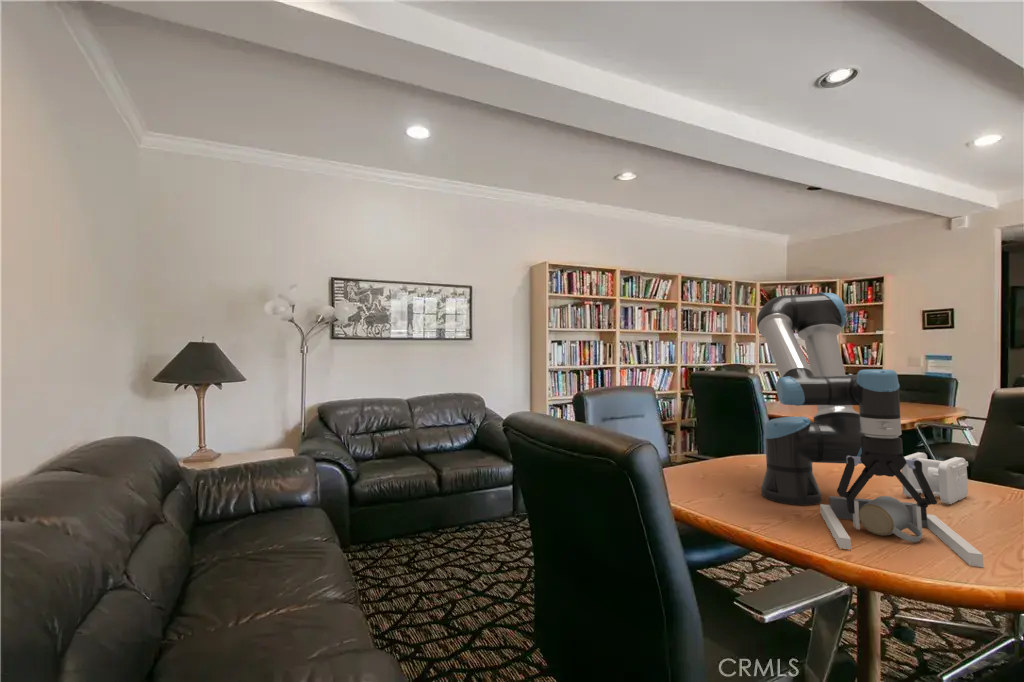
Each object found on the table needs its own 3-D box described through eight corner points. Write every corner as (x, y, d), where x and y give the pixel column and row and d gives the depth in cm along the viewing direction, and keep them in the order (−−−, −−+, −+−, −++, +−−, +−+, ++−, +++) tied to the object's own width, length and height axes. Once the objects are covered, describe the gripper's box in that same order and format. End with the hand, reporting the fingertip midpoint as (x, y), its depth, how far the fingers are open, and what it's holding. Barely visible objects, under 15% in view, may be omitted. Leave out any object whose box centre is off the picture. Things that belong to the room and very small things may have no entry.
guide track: (840, 549, 98) (838, 525, 98) (820, 513, 120) (819, 494, 120) (983, 567, 88) (981, 541, 88) (934, 525, 109) (932, 504, 110)
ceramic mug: (856, 530, 107) (855, 497, 107) (873, 523, 111) (872, 491, 111) (912, 547, 98) (911, 511, 98) (929, 539, 101) (928, 504, 102)
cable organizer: (923, 489, 137) (921, 450, 138) (971, 498, 128) (968, 456, 129) (902, 498, 130) (899, 457, 130) (951, 508, 121) (948, 464, 121)
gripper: (824, 435, 108) (829, 529, 107) (953, 440, 98) (960, 544, 97) (819, 430, 115) (824, 518, 114) (938, 434, 105) (945, 531, 104)
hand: (886, 530), depth 106 cm, fingers closed on ceramic mug, 11 cm apart
